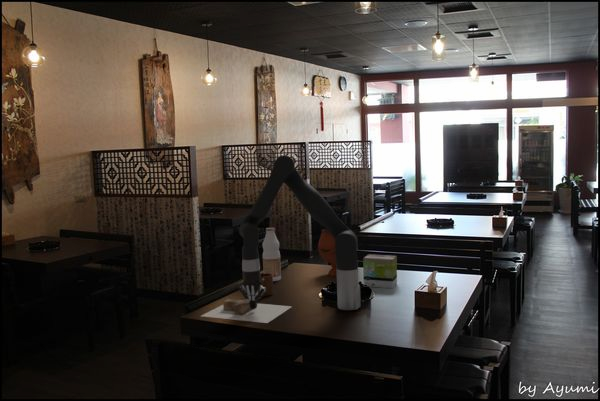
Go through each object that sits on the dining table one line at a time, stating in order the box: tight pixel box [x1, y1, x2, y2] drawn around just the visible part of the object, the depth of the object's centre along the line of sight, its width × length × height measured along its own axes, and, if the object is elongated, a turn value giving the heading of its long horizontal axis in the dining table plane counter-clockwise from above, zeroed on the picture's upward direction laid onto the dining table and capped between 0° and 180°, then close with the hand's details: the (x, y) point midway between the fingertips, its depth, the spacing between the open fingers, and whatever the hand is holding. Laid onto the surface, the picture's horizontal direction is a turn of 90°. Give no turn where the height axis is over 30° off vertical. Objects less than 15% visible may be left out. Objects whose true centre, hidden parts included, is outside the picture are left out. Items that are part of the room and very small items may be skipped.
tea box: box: [362, 254, 398, 289], centre depth 269 cm, size 15×10×15 cm
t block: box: [222, 298, 253, 315], centre depth 235 cm, size 12×12×4 cm
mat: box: [200, 302, 293, 324], centre depth 233 cm, size 32×24×1 cm
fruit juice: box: [262, 227, 282, 282], centre depth 289 cm, size 9×9×28 cm
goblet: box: [317, 228, 337, 277], centre depth 297 cm, size 19×19×25 cm
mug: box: [257, 273, 274, 297], centre depth 259 cm, size 12×8×9 cm, turn 175°
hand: (253, 308), depth 232 cm, fingers closed
